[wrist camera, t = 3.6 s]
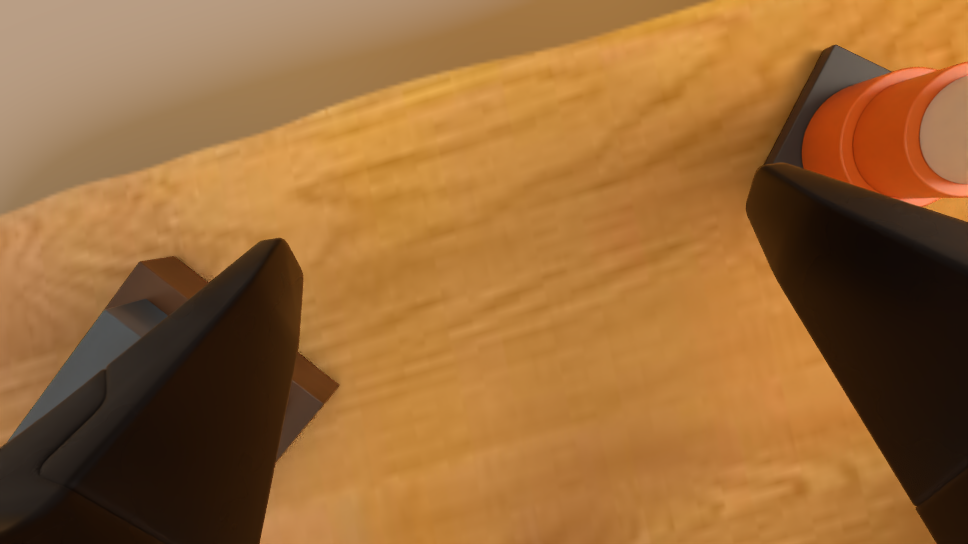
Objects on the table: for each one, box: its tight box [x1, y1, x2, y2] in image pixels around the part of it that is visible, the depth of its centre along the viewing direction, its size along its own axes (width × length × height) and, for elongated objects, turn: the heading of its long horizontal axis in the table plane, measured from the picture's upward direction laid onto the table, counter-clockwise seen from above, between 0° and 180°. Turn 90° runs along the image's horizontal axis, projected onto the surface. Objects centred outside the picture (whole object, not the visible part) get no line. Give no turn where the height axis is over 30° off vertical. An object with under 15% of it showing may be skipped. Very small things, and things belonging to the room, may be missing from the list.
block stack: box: [8, 256, 339, 462], centre depth 23 cm, size 11×11×5 cm
